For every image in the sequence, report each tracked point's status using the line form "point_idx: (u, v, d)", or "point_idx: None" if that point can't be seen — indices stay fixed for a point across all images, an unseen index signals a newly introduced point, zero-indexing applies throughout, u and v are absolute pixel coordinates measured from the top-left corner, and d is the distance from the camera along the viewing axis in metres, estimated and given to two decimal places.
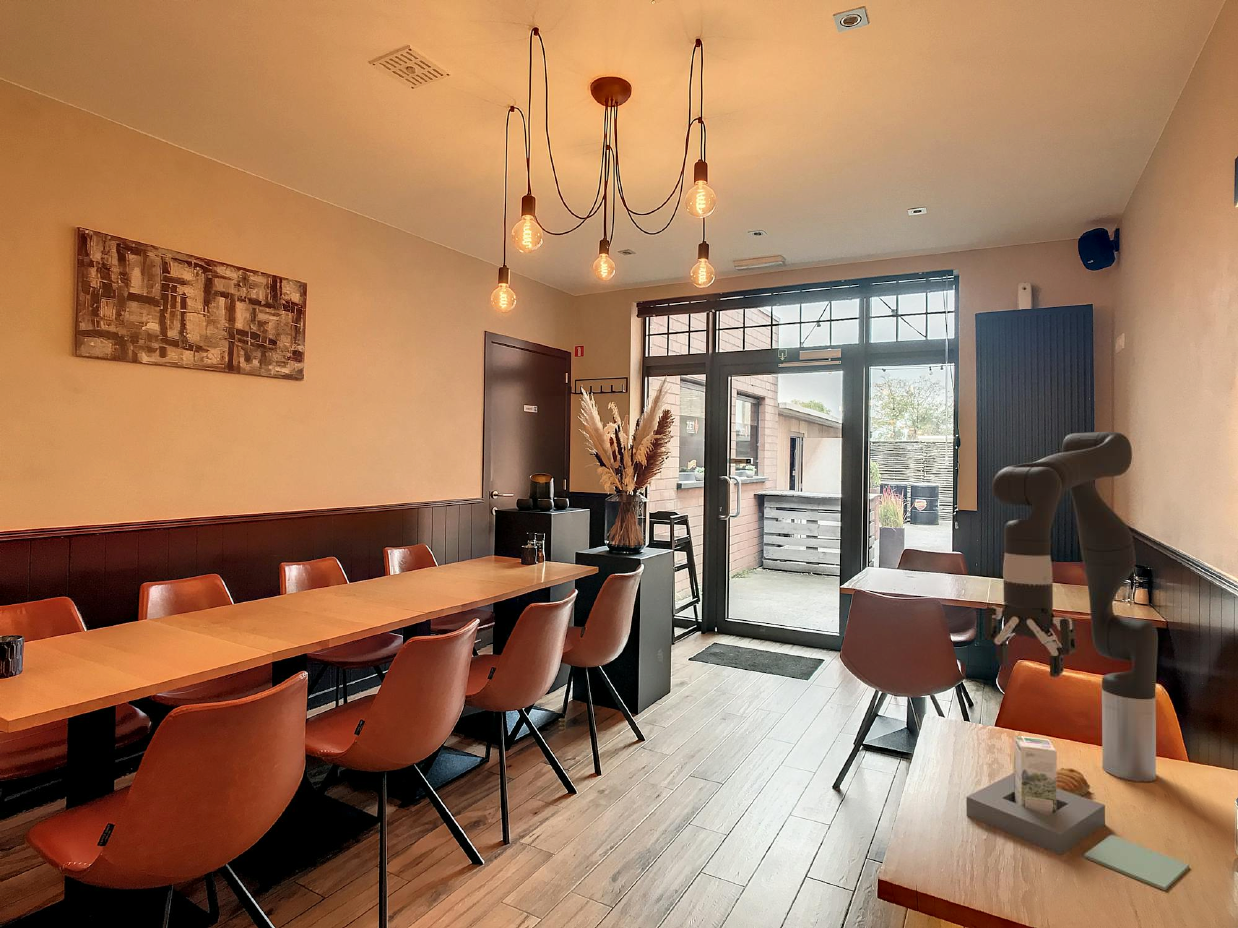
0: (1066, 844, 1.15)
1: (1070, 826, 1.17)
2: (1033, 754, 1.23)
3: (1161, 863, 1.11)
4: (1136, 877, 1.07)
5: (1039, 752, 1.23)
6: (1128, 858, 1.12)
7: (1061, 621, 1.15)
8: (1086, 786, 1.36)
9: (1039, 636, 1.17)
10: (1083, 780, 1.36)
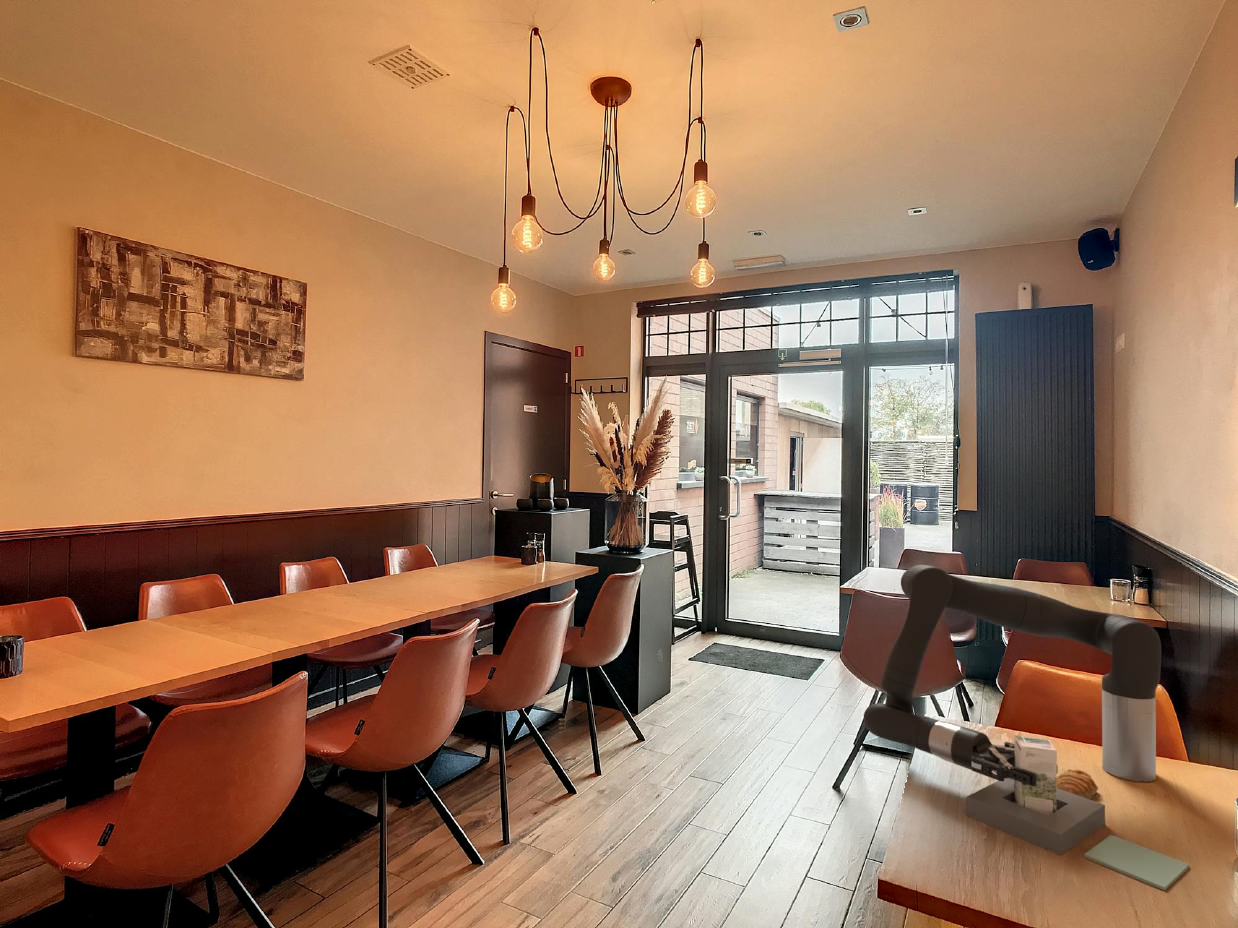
0: (1066, 844, 1.15)
1: (1070, 826, 1.17)
2: (1033, 754, 1.23)
3: (1161, 863, 1.11)
4: (1136, 877, 1.07)
5: (1039, 752, 1.23)
6: (1128, 858, 1.12)
7: None
8: (1095, 788, 1.35)
9: None
10: (1092, 782, 1.36)
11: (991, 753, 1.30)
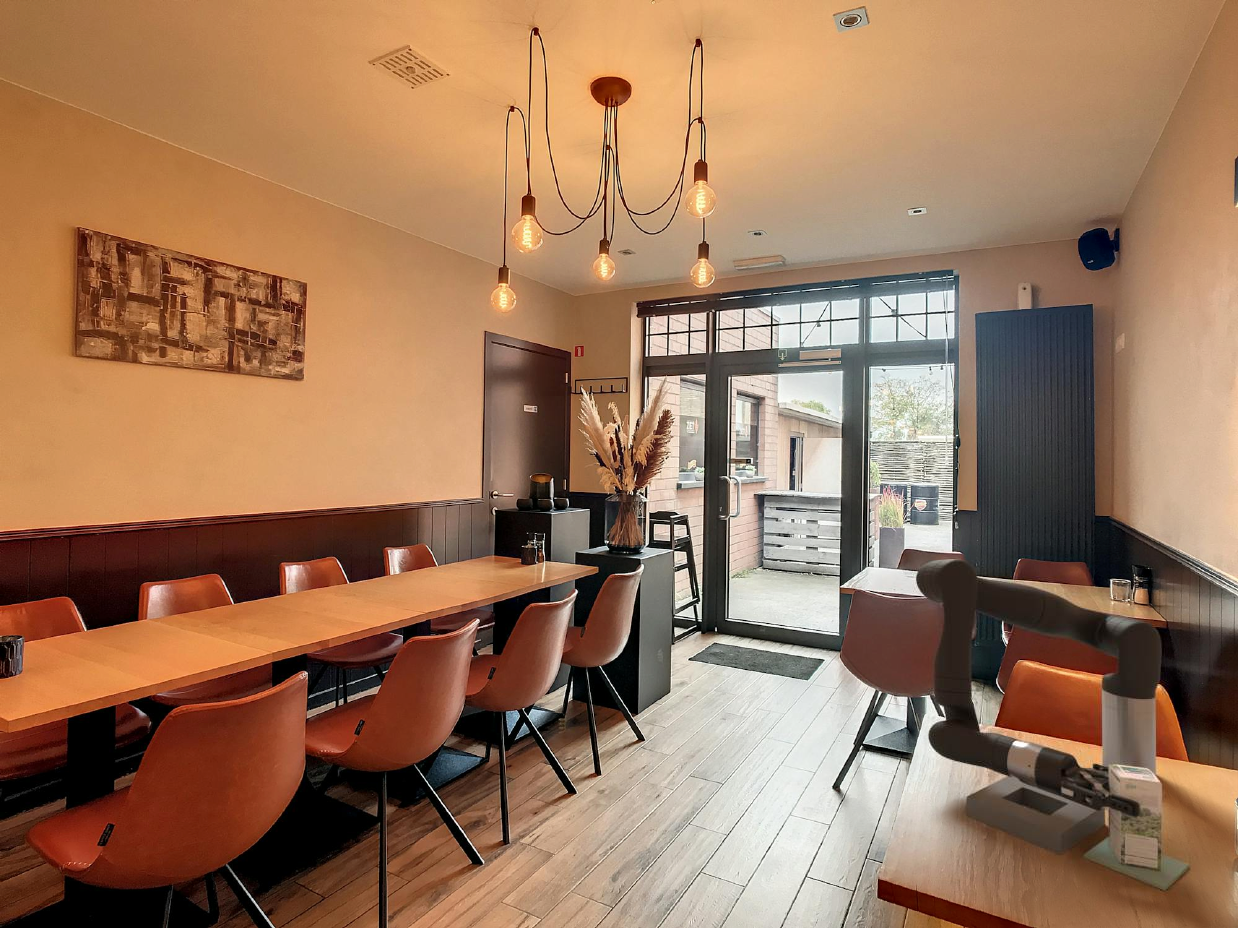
0: (1066, 844, 1.15)
1: (1070, 826, 1.17)
2: (1135, 786, 1.10)
3: None
4: (1136, 877, 1.07)
5: (1142, 783, 1.09)
6: None
7: None
8: None
9: None
10: None
11: (1083, 777, 1.16)
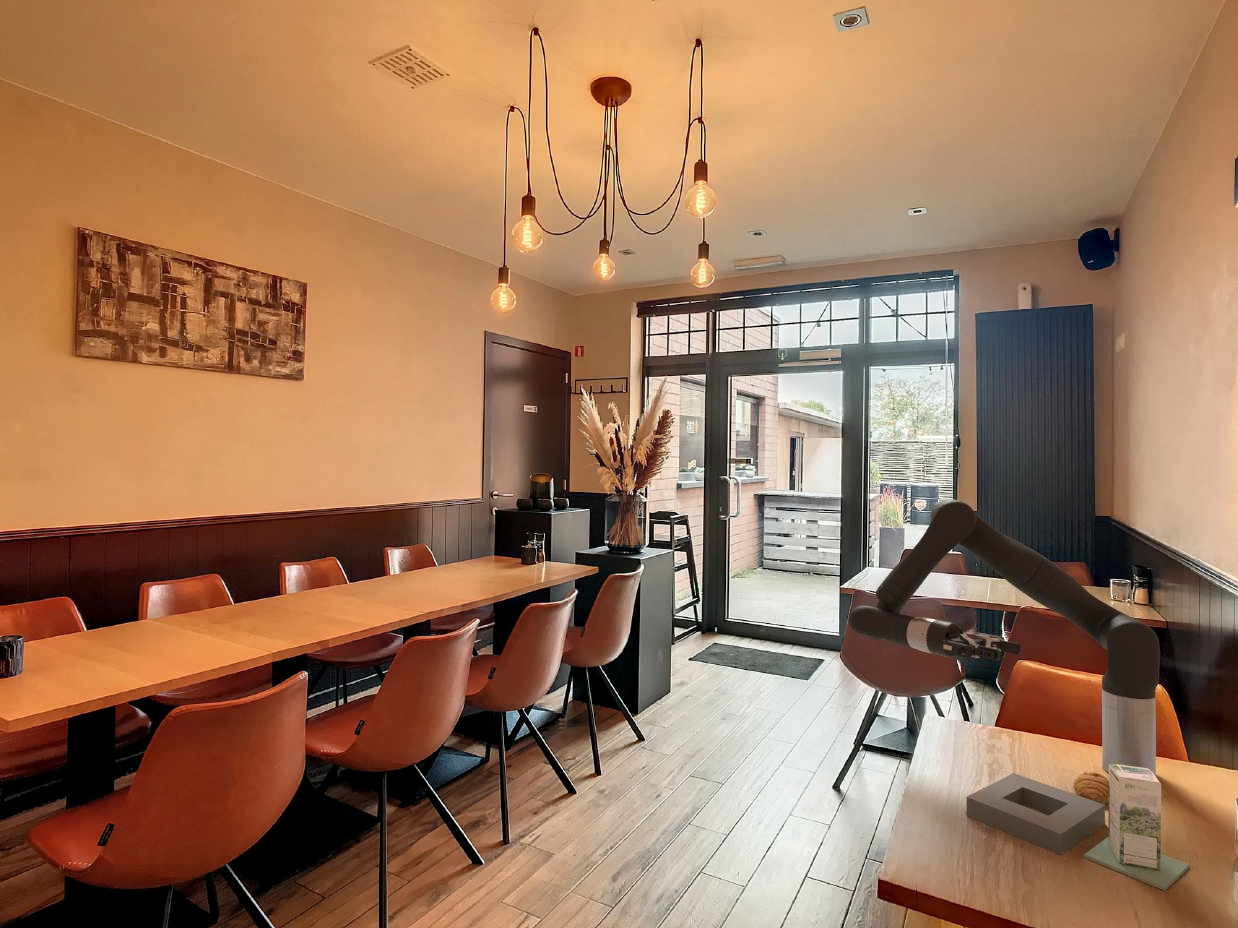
0: (1066, 844, 1.15)
1: (1070, 826, 1.17)
2: (1134, 785, 1.10)
3: (1161, 863, 1.11)
4: (1136, 877, 1.07)
5: (1141, 783, 1.09)
6: None
7: None
8: None
9: None
10: None
11: (962, 637, 1.43)
